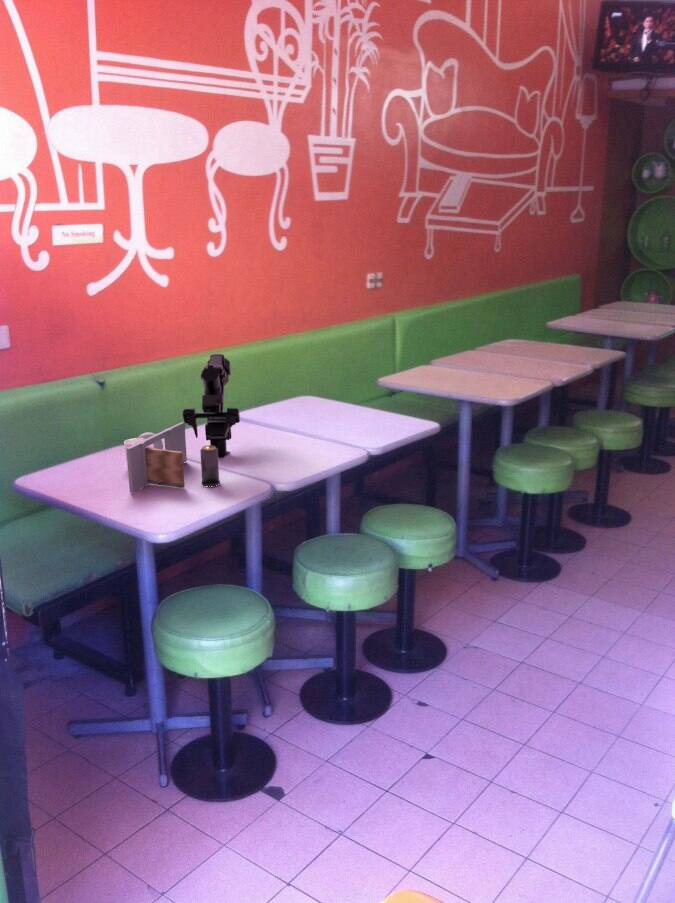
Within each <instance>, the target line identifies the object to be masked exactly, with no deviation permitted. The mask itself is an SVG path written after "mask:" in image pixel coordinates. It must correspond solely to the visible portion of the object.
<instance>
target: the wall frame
mask: <svg viewBox="0 0 675 903" xmlns="http://www.w3.org/2000/svg"><path fill="white" fill-rule="evenodd" d="M185 424H186V423H185V422H184V421H182V422H179V423H176V424H175V425H172V426H170V427H169V428H164V429H163V430H162V431H161V432H158V433H155V434H156V435H153V436H151V437H149V438H147V439H145V440H143V441H141V442H137V443H136V444H135V445H132V446H130V447H128V448H126V449H127V461H126V463H127V462H128V467H127V473H128V475H127V476H128V487H129V493H130V494H135V492H137V491H139V490H141V489H142V488H146V487H148V486H149V484H148V478H147V464H146V450H145V447H147V448H148V447H149V446H152V445H153V443H155V442H157V441H159V440H163V439H164V450H171V451H180V452H183V463H184V462H186V461H187V462H188V457H187V443H186V425H185Z"/></svg>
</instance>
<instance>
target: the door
mask: <svg viewBox="0 0 675 903" xmlns="http://www.w3.org/2000/svg"><path fill="white" fill-rule="evenodd" d="M145 450H146V464H147V478H148V485H154V486H163V487H169V488H171V487H172V488H179V489H184V488H186V487H185V472H184V471H185V470H184V464H183V452H180V451H171V450H165V449H164V448H163V449H154V448H153V447H147V448H145Z"/></svg>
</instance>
